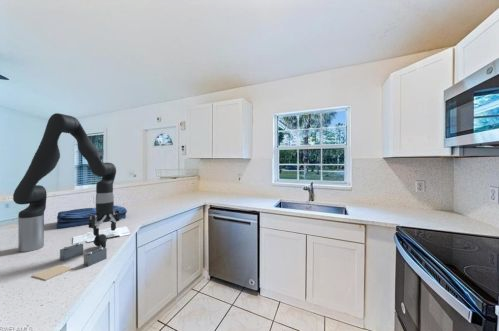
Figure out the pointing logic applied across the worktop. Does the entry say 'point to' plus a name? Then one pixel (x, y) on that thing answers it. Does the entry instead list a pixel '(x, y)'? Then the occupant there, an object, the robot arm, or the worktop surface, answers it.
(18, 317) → the worktop surface
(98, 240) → the power plug
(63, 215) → the towel
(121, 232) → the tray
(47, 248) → the worktop surface
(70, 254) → the metal blocks
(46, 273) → the mat
